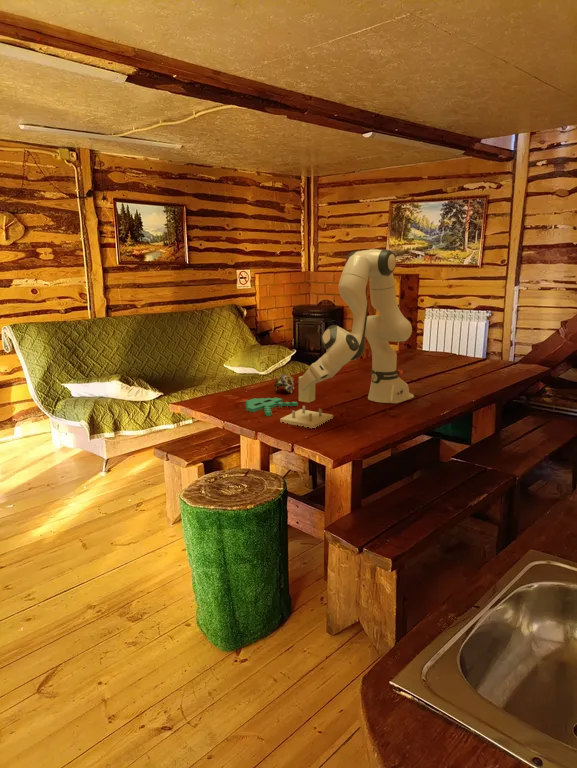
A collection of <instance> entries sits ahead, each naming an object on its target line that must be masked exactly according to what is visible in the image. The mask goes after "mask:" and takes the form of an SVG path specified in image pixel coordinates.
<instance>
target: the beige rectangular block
mask: <svg viewBox="0 0 577 768" xmlns="http://www.w3.org/2000/svg"><path fill="white" fill-rule="evenodd" d="M302 376H303V375H301V376H298V381H299V380H300V378H301V377H302ZM300 387H301V385H300V384H299V383H298V401H299V402H302V403H303V402H304V403H308V404H309V403H311V402H313V401H316V384H313V385H311V386H309V387H306V389H305V390H303V391H301V389H300Z"/></svg>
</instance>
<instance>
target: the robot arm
mask: <svg viewBox="0 0 577 768" xmlns="http://www.w3.org/2000/svg"><path fill="white" fill-rule="evenodd" d="M396 265H397V258H396V255H395V253H394V252H393V251H392V250H390V249H385V248H384V249H377V248H375V249H374V248H372V249H371V248H370V249H366V250H355V251H352V252H349V253H348V255H347V257H346V259H345V265H344V267H343V269H342V272H341V275H340V278H339V281H338V285H337V286H338V288H337V289H338V294H339V296H340V297H341V299H342V300H343V301H344V303H345V304H346V305H347V306H348V307H349V309H350V311H351V312H352V317H353V320H352V325H351V326H352V327H351V332H349V331H348V330H346V329H344V328H342V327H340V326H339V325H336V324H333V325H330V326H328V327H327V328H325V330H324V331H323V333H322V335H321V343H322V345H323V348H324V349H325V350H326V351H325V353H324V354H323V355H322V356H321V357H319V358H318V359H317V360H316V361H315V362H313V363H311V364H310V365H309V367H308V368H309V369H308V370H306V371H305V372H304V373H303V375H301V376H302V377H301V378H300V380H299V379H298V385H299V384H300V385H301V387H300V389H301V391H303V390H305V389H306V387H309V386H311V385H313V384H315V385H316V384H318V383H320V382H322V381H323V382H324V381H326V380H328V379H332V378H333V377H334V376H335V375H336V374H337V373H338V372H339V371H340V370H341V369H342V368H343V366H345V365H347V364H348V363H349V362H350V361H355V360H357V359H359V358H361V357H362V355H363V354H364V352H365V348H366V345H365V344H366V341H365V340H367V342H368V344H369V347H370V350H371V358H372V359H371V361H372V363H371V364H372V365H371V367H372V368H371V369H370V378H371V381H370V387H369V391H368V396H367V400H368V401H372V402H375V403H382V404H383V403H384V404H385V403H386V404H399V403H402V402H404V401H407V400H412V399H414V398H415V395H414V394H413V393H410V388H409V384H408V383H407V382H406V381H404V380H403V379H402V378H400V375H403V373H404V371H403V370H402V369H398V370H397V361H398V359H397V358H398V356H397V351H396V350H395V349H393V347H392V346H391V345H390V342H392V343H393V342H395V343H398V342H406V341H408V339H409V338H410V337H411V335H412V333H413V326H412V324H411V321H409V320H408V319H407V318H406V317H405V316H404V315H403V313H402V312H401V310H400V307H399V305H398V302H397V294H396V283H395V282H396V281H395V276H394V271H395V269H396ZM368 282H369V294H370V304H371V306H372V308H374V309H375V310H376V312H377V313H379V315H378V314H373V315H368V314H369V302H368V300H367V299H368V298H367V292H366V291H367V285H368ZM365 338H366V339H365Z"/></svg>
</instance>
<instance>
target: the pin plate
mask: <svg viewBox="0 0 577 768" xmlns="http://www.w3.org/2000/svg"><path fill="white" fill-rule="evenodd" d="M322 410H323V409H322V408H318V411H314V410H313V411H312V410H308V409H306V405H302V408H299V409H297V410H291V411H292V412H291V413H289V414H287V415H285V416H283V417H281V418H279V419H280V423H282V422H284V423H283V424H287V423H288V425H293V426H297V425H298V427H302V426H304V427H303V428H307V427H309V428H308V429H312V428H315V429H317V428H318V427H320V426H321V424H322V425H323V423H324V424H325V422H326V421H327V422H329V421H331V420H333V419H334V414H330V413H324V412H322ZM330 419H331V420H330ZM328 420H329V421H328ZM327 422H326V423H327ZM319 425H320V426H319ZM317 426H318V427H317ZM316 427H317V428H316Z"/></svg>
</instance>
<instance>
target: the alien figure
mask: <svg viewBox="0 0 577 768" xmlns="http://www.w3.org/2000/svg"><path fill="white" fill-rule="evenodd" d="M244 402H245V404H244V406H245V412H248V411H250V412H249V413H252V412H254V413H256V411H257V412H259V411H258V410H260V411H262V410H261V409H263V413H265V414H264V416H265V415H266V416H265V417H268V416H269V417H271V415H272V416H273V411H272V410H273V409H274V408H273V407H275V408H277V407H276V406H279V407H278V408H280V407H281V408H283V407H282V406H287V407H286V408H289V407H288V406H290V407H292V406H297V407H298V406H299V402H297V401H292V402H290V401H286V402H283V398H279V397H276V396H275V397H273V398H271V397H266V398H264V397H261V398H251V399H248V400H245V401H244ZM271 408H272V409H271Z"/></svg>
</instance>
